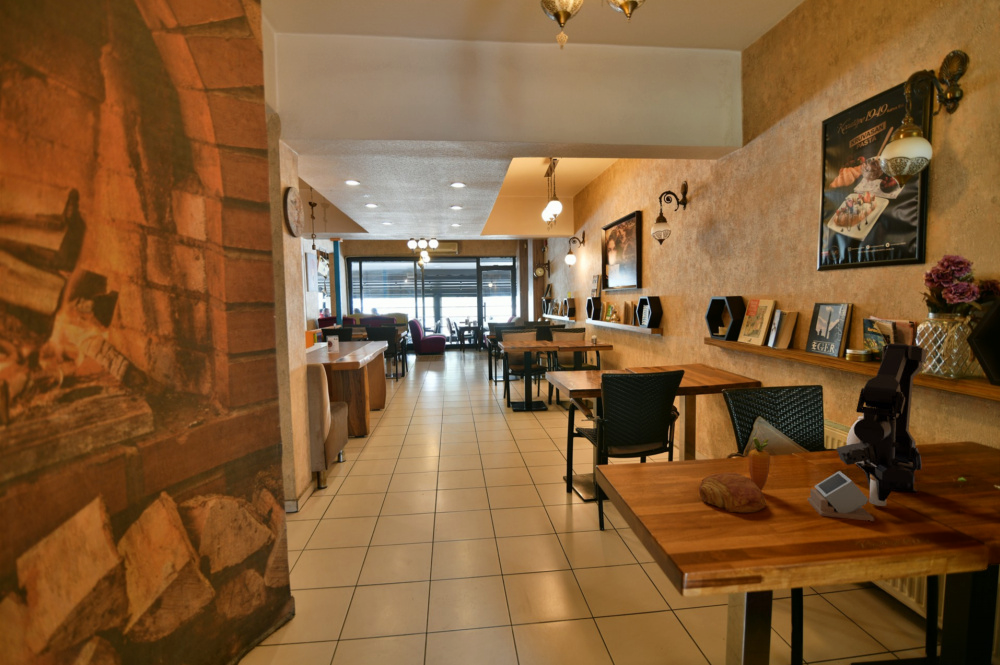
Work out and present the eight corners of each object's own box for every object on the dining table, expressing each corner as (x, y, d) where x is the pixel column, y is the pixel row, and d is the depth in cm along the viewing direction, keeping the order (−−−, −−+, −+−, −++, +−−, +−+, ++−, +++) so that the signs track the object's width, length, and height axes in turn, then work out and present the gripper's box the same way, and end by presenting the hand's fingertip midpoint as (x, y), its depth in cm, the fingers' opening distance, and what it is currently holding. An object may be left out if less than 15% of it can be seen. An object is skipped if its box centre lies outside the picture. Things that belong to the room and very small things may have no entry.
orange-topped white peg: (882, 501, 114) (883, 473, 114) (889, 506, 111) (890, 478, 111) (866, 499, 115) (867, 472, 115) (873, 505, 112) (873, 477, 112)
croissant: (691, 500, 123) (687, 471, 123) (745, 490, 125) (741, 461, 124) (721, 524, 109) (717, 491, 109) (782, 512, 110) (778, 479, 110)
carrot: (768, 490, 124) (769, 435, 123) (770, 497, 120) (771, 440, 119) (747, 487, 126) (748, 433, 126) (748, 494, 122) (749, 438, 121)
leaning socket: (856, 505, 114) (857, 471, 114) (873, 521, 106) (875, 484, 105) (807, 500, 117) (808, 467, 117) (820, 515, 109) (821, 479, 108)
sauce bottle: (881, 471, 138) (883, 412, 137) (849, 467, 141) (851, 410, 140) (873, 463, 145) (875, 407, 144) (843, 460, 148) (844, 405, 147)
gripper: (827, 424, 124) (825, 481, 125) (858, 444, 106) (856, 509, 107) (876, 427, 121) (874, 485, 121) (917, 447, 103) (914, 515, 104)
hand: (877, 497), depth 113 cm, fingers closed on orange-topped white peg, 3 cm apart
